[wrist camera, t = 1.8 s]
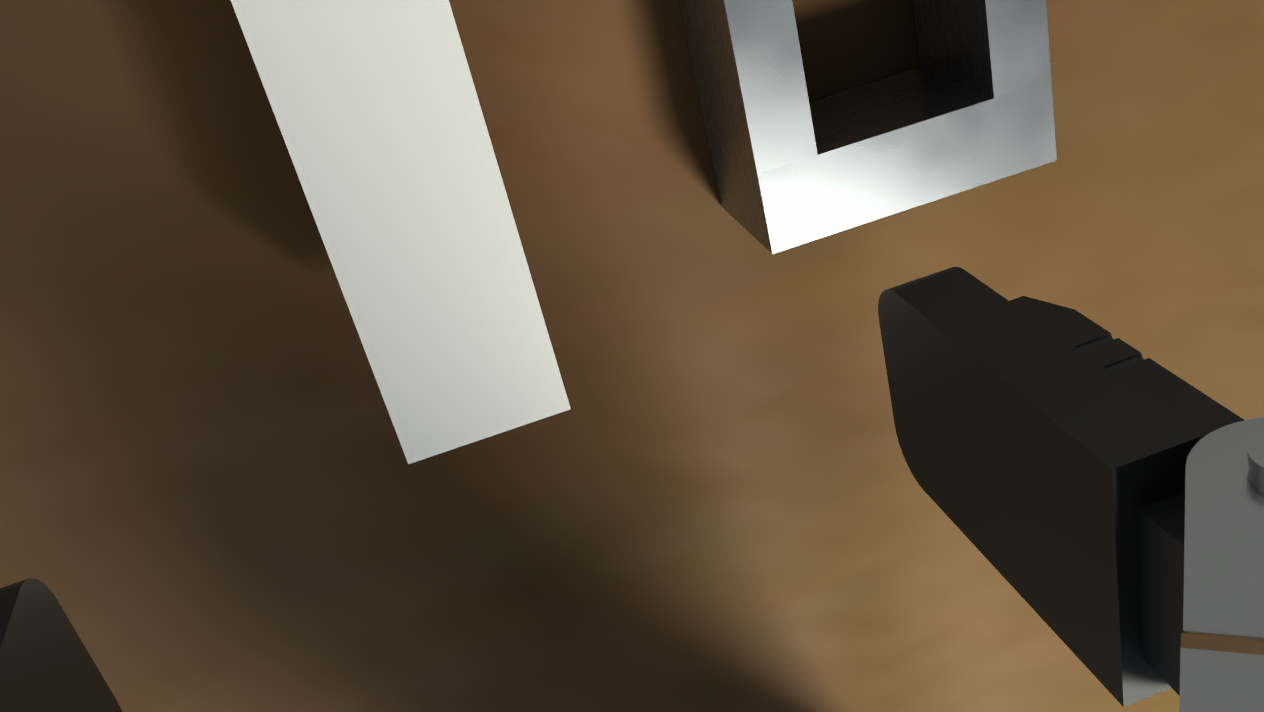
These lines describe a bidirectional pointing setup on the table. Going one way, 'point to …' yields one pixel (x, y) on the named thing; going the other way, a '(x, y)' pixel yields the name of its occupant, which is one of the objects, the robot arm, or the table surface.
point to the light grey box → (410, 211)
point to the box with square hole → (867, 115)
